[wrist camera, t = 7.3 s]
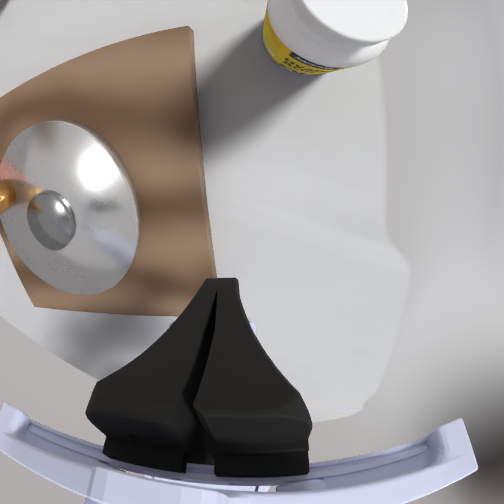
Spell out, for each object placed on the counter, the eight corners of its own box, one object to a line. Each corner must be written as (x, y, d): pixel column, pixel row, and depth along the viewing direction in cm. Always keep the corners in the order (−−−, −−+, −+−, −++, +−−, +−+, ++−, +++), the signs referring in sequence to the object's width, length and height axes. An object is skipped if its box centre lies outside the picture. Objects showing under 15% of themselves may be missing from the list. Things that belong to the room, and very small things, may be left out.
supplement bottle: (269, 80, 15) (286, 62, 7) (255, 8, 12) (257, -66, 4) (350, 75, 15) (435, 68, 6) (337, 5, 12) (404, -51, 4)
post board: (220, 304, 25) (214, 353, 20) (40, 298, 25) (18, 330, 21) (193, 30, 13) (169, 8, 9) (-17, 113, 14) (-56, 127, 9)
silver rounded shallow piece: (171, 159, 16) (147, 180, 12) (121, 309, 22) (105, 345, 19) (-2, 95, 12) (-39, 104, 8) (-12, 234, 18) (-36, 256, 15)
